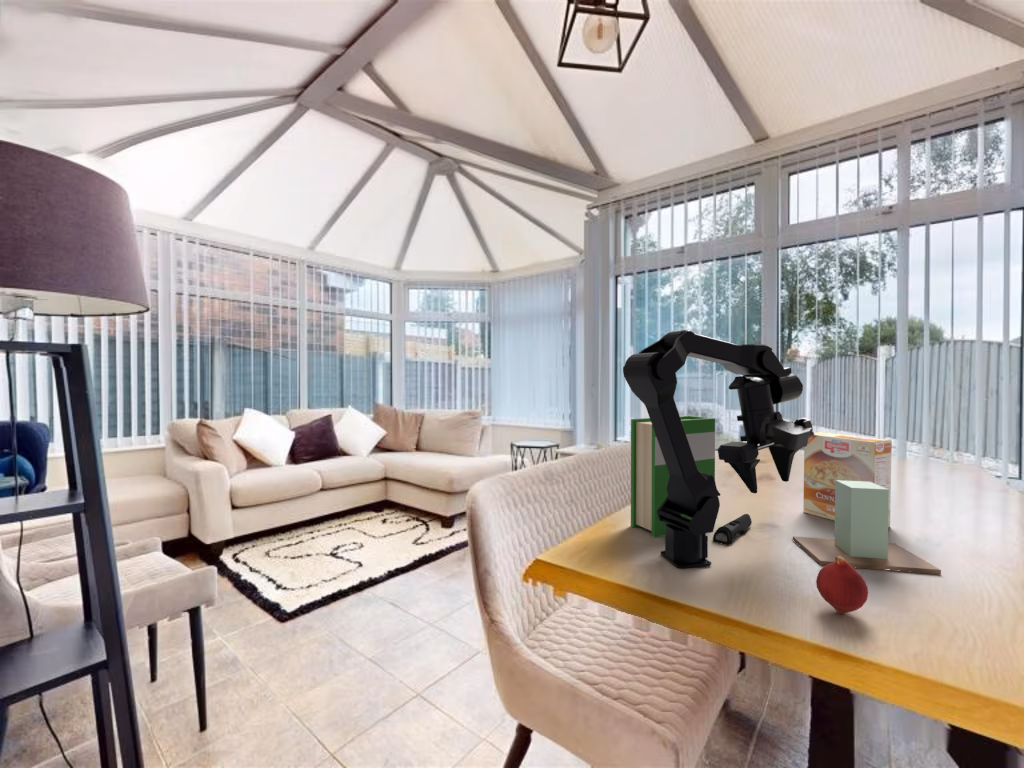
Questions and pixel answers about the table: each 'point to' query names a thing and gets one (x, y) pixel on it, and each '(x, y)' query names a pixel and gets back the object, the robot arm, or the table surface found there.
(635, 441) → the hardback book
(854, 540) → the mint green prism
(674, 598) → the table surface
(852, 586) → the onion
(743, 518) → the electric trimmer
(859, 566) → the brown board
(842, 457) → the coffeecake box
